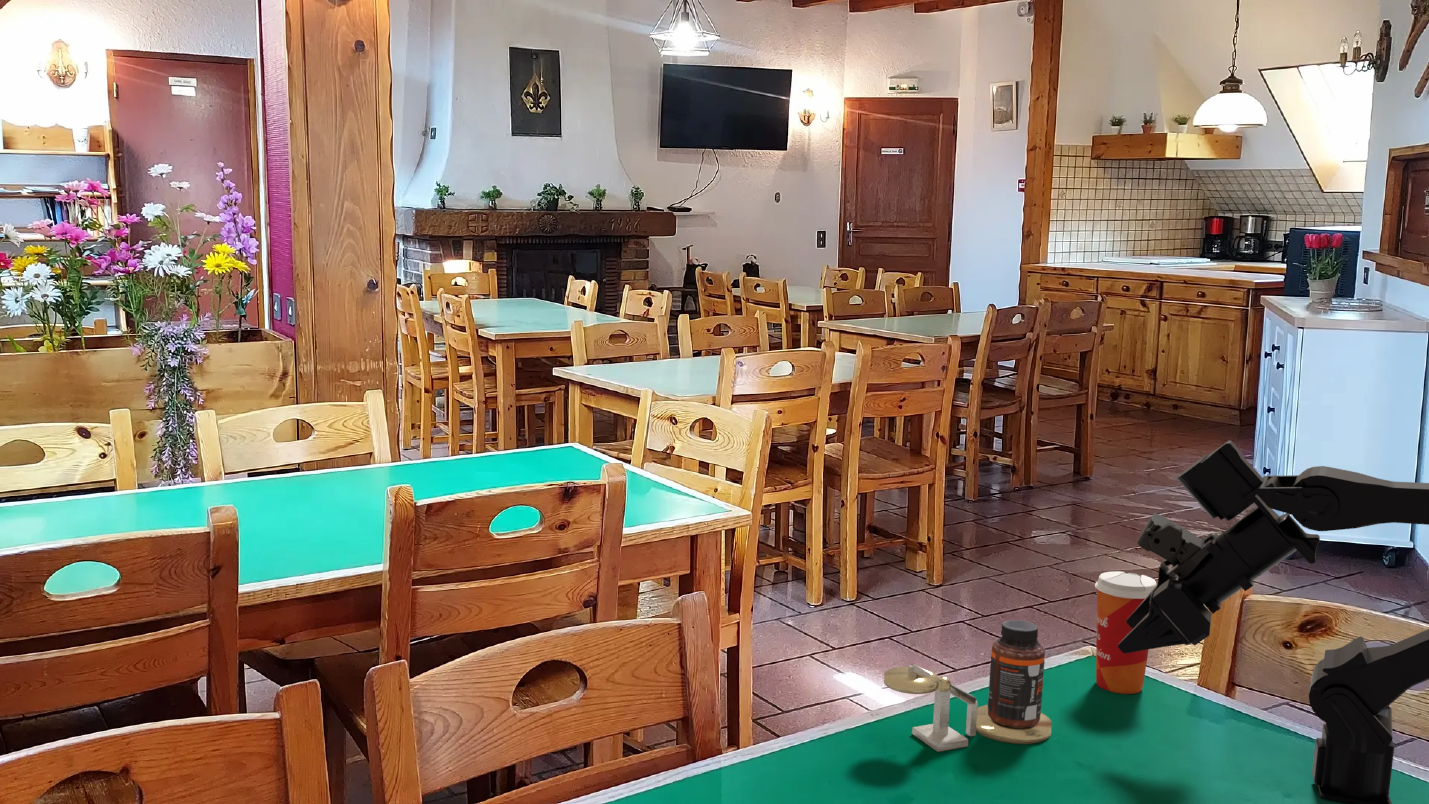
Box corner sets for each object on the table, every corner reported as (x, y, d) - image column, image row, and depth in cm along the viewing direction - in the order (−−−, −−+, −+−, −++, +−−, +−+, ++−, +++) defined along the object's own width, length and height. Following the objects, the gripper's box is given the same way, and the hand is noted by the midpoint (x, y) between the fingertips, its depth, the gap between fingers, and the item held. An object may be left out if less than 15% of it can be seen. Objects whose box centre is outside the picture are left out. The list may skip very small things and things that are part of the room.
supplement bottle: (1046, 731, 137) (1053, 634, 136) (993, 729, 137) (999, 632, 136) (1032, 710, 143) (1039, 617, 142) (982, 708, 143) (988, 615, 142)
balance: (1017, 707, 147) (1022, 632, 145) (1068, 736, 138) (1073, 657, 137) (863, 733, 138) (867, 653, 136) (907, 766, 130) (911, 682, 128)
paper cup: (1095, 670, 160) (1103, 566, 158) (1156, 682, 156) (1165, 576, 154) (1080, 689, 153) (1088, 581, 151) (1143, 702, 149) (1152, 592, 147)
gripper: (1193, 478, 139) (1085, 559, 145) (1184, 512, 122) (1062, 602, 128) (1262, 555, 137) (1150, 633, 143) (1263, 600, 120) (1136, 687, 126)
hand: (1124, 636), depth 135 cm, fingers open, 9 cm apart
